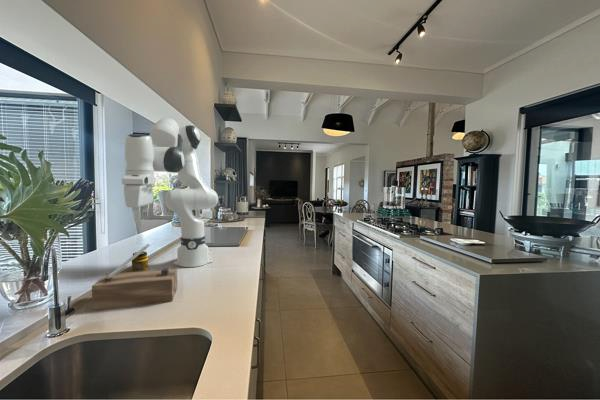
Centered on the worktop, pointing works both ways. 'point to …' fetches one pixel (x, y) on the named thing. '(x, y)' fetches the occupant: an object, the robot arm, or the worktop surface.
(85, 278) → the worktop surface
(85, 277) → the worktop surface
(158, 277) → the walnut case
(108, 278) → the latch bar
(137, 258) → the condiment
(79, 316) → the worktop surface
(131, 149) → the robot arm
